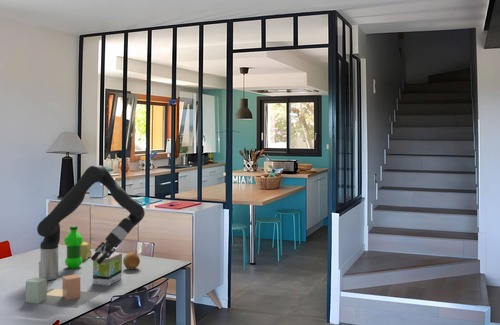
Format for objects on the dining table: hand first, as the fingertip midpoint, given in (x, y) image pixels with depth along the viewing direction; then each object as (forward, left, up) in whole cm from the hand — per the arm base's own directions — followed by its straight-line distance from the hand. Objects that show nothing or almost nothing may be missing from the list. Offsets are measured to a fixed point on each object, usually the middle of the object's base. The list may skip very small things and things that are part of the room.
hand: (95, 261), depth 249 cm
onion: (-4, +48, -17) cm, 51 cm away
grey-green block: (-21, -18, -16) cm, 32 cm away
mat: (-11, -11, -17) cm, 23 cm away
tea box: (-5, +21, -17) cm, 27 cm away
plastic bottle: (-39, +42, -17) cm, 59 cm away
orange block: (-8, -9, -16) cm, 20 cm away
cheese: (-47, +63, -17) cm, 80 cm away
